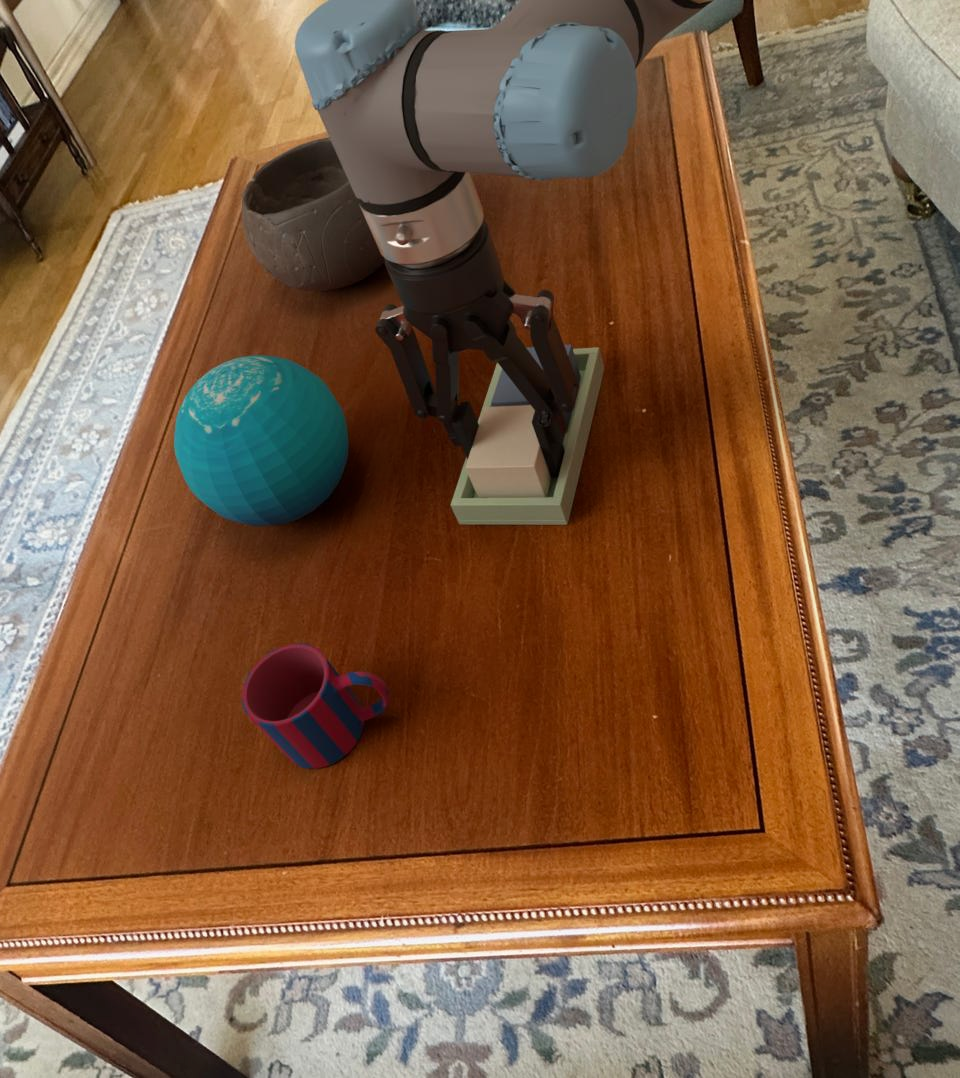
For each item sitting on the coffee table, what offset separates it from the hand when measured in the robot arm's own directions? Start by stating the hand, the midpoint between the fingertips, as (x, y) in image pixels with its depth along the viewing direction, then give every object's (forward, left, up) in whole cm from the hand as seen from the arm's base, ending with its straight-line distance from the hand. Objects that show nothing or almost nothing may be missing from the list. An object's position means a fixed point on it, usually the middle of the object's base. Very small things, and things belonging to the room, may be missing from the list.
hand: (520, 465), depth 84 cm
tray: (0, -4, -2) cm, 4 cm away
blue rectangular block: (0, -8, -1) cm, 8 cm away
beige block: (0, 0, 0) cm, 0 cm away
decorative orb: (+22, +2, -2) cm, 22 cm away
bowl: (+29, -33, -2) cm, 44 cm away
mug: (+9, +25, -2) cm, 27 cm away
